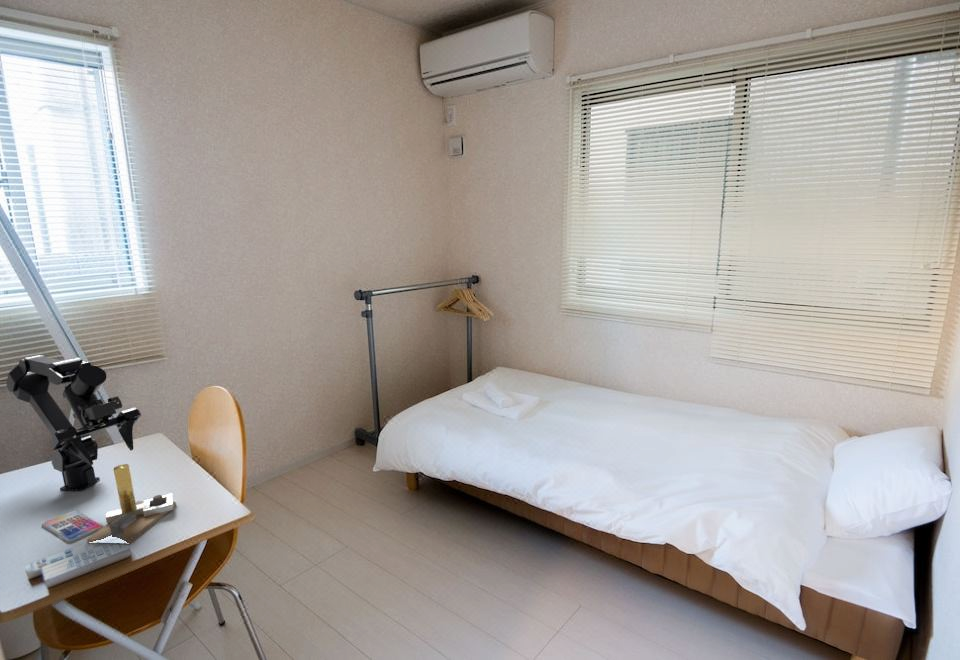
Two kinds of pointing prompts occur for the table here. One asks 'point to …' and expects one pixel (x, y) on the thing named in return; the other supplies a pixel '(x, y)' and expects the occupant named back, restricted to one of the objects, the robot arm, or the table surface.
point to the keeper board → (130, 524)
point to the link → (128, 498)
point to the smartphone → (72, 526)
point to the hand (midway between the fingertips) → (112, 457)
